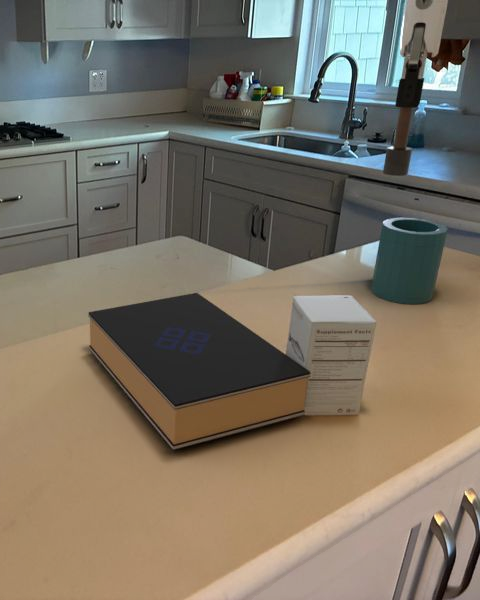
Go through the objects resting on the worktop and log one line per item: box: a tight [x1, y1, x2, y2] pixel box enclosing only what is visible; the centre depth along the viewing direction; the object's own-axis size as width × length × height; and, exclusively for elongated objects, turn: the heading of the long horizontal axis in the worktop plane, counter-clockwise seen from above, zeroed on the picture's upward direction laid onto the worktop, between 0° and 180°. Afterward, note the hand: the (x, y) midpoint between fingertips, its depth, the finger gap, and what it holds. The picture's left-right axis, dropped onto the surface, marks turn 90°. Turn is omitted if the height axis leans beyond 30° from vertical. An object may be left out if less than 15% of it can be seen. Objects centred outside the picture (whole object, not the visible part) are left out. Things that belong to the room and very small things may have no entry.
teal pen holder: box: [370, 217, 449, 305], centre depth 103 cm, size 9×9×12 cm
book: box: [87, 292, 311, 451], centre depth 79 cm, size 17×25×7 cm
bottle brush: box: [382, 107, 414, 177], centre depth 96 cm, size 4×4×16 cm
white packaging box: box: [285, 294, 377, 416], centre depth 73 cm, size 7×7×13 cm
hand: (407, 105), depth 95 cm, fingers closed on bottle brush
